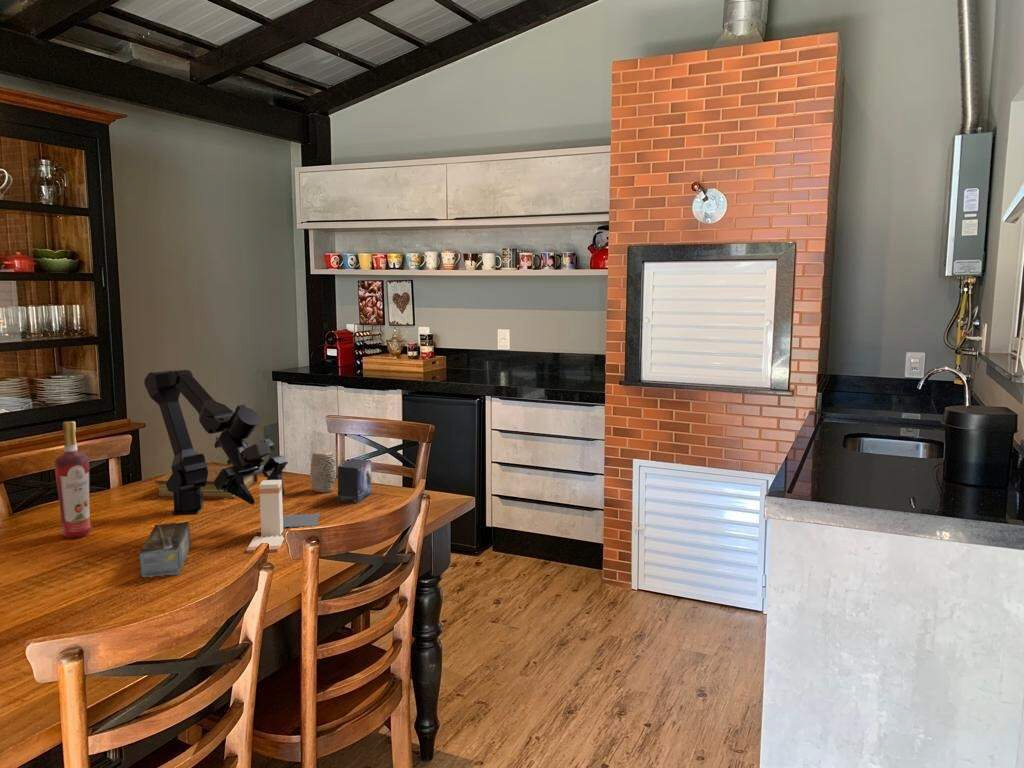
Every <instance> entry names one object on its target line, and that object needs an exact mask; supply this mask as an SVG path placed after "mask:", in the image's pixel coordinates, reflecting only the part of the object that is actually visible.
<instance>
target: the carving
mask: <svg viewBox="0 0 1024 768" xmlns="http://www.w3.org/2000/svg"><path fill="white" fill-rule="evenodd" d="M336 468H337V467H336V459H335V454H334V452H333V451H332V450H330V449H329V450H328V449H318V450H315V451H314V452H312V455H311V462H310V474H309V475H310V476H309V480H310V481H309V482H310V487H311V489H312V490H313V491H315V492H317V493H330V492H332V491H333V489H334V486H335V483H336V482H335V481H336V472H337V471H336V470H337V469H336Z"/></svg>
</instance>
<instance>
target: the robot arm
mask: <svg viewBox="0 0 1024 768" xmlns="http://www.w3.org/2000/svg"><path fill="white" fill-rule="evenodd" d="M143 382H144V384H143V385H144V387H145V389H146V391H147V393H148V396H149V398H150V399H151V400H153V401H154V402H155V403H156V404H157V405H158V406H159V409H160V413H161V415H162V419H163V422H164V426H165V429H166V431H167V435H168V438H169V443H170V446H171V449H172V452H173V461H172V463H171V466H170V468H171V472H172V473H173V474H172V475H171V477H170V478H169V479H168V481H167V482H166V486H167V489H168V491H171V492H173V497H174V498H173V511H171V514H172V515H186V514H187V515H188V514H189V515H194V514H198V513H199V512H200V511H201V510H202V509H203V508H204V499H203V493H202V492H201V489H200V487H205V486H206V482H207V477H208V464H207V463H206V457H205V454H203V453H198V452H197V451H196V450H195V449H194V446H193V443H192V440H191V437H190V433H189V430H188V426H187V423H186V420H185V418H184V414H183V410H182V407H181V404H180V400H179V399H180V397H181V396H180V395H181V394H182V396H183V397H184V398H185V399H186V400H187V402H189V404H190V405H191V406H192V407H193V408H194V409H195V411H196V412H197V414H198V415H199V416H198V421H199V423H200V425H201V426H202V428H203V429H204V431H205V432H206V433H207V434H209V435H211V434H217V433H220V434H219V436H216V437H215V442H214V448H215V449H219V448H222V450H223V452H224V453H225V454H226V457H227V458H228V460H227V461H226V463H227V464H228V467H229V468H224V469H222V470H221V471H220V473H219V474H218V476H217V477H216V479H215V481H214V485H215V487H216V488H217V490H218V491H220V490H223V491H224V492H229V493H231V494H233V495H235V496H237V498H239V499H241V500H243V501H244V502H246V503H248V504H250V505H252V506H253V505H254V504H255V503H256V501H255V499H254V497H253V495H252V494H251V492H250V489H248V488H247V487H246V485H245V483H244V477H248V476H252V475H256V474H258V475H260V474H262V475H263V476H264V477H265V478H266V480H282V497H284V496H285V494H286V492H285V486H284V481H283V471H284V470H285V468H286V466H287V465H288V463H289V462H288V460H287V459H286V458H285V456H284V455H277V456H272V457H269V459H268V460H267V461H266V462H265V464H261V463H264V460H265V457H266V456H268V455H271V454H272V452H274V451H275V449H276V447H275V444H274V442H273V441H272V440H271V439H270V438H267V439H264V440H262V441H260V443H259V442H258V443H255V444H249V443H248V442H247V440H246V439H248V438H249V437H251V435H252V434H253V432H254V431H255V429H256V428H257V426H259V424H260V422H261V416H260V414H259V413H258V412H257V411H256V410H254V409H252V408H249V407H248V406H246V404H238V405H237V407H236V408H235V409H234V410H235V411H233V410H232V409H231V408H230V407H228V406H227V405H225V404H224V403H222V402H219V401H216V400H215V399H214V398H213V397H212V396H211V395H210V394H209V393H208V392H207V391H206V390H205V388H204V387H203V386H202V385H201V383H200V382H199V381H198V380H197V379H196V378H195V377H194V375H193V372H192V371H191V370H190V369H189V370H188V369H185V368H184V369H177V370H173V369H171V370H170V369H169V370H160V371H151V372H149V373H148V374H147V375H146V376H145V378H144V381H143ZM230 465H231V466H230Z"/></svg>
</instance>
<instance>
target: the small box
mask: <svg viewBox="0 0 1024 768" xmlns="http://www.w3.org/2000/svg"><path fill="white" fill-rule="evenodd" d="M370 495H372V459H371V460H370V459H360V458H350V459H349V460H347V461H345V462H344V463H341V464H340V465H338V466H337V502H338V501H339V503H348V502H355V503H354V504H358V503H360V502H362V501H363V500H365V499H366V498H368V497H369V496H370ZM359 501H360V502H359ZM357 502H358V503H357Z"/></svg>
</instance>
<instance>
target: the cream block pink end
mask: <svg viewBox="0 0 1024 768" xmlns="http://www.w3.org/2000/svg"><path fill="white" fill-rule="evenodd" d="M283 535H284V534H281V535H276V536H261V535H257V536H256V535H255V536H254V537H253V539H252V540H251V542H250V544H249V545H248V547H246V549H245V554H254V553H253V552H254V550H255V549H256V548H257V547H258V546H259V545H260V544H261V543H268V544H269V552H268V553H277V552H279V550H280V548H281V546H282V544H283V542H284V540H285V538H284V537H283Z"/></svg>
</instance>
